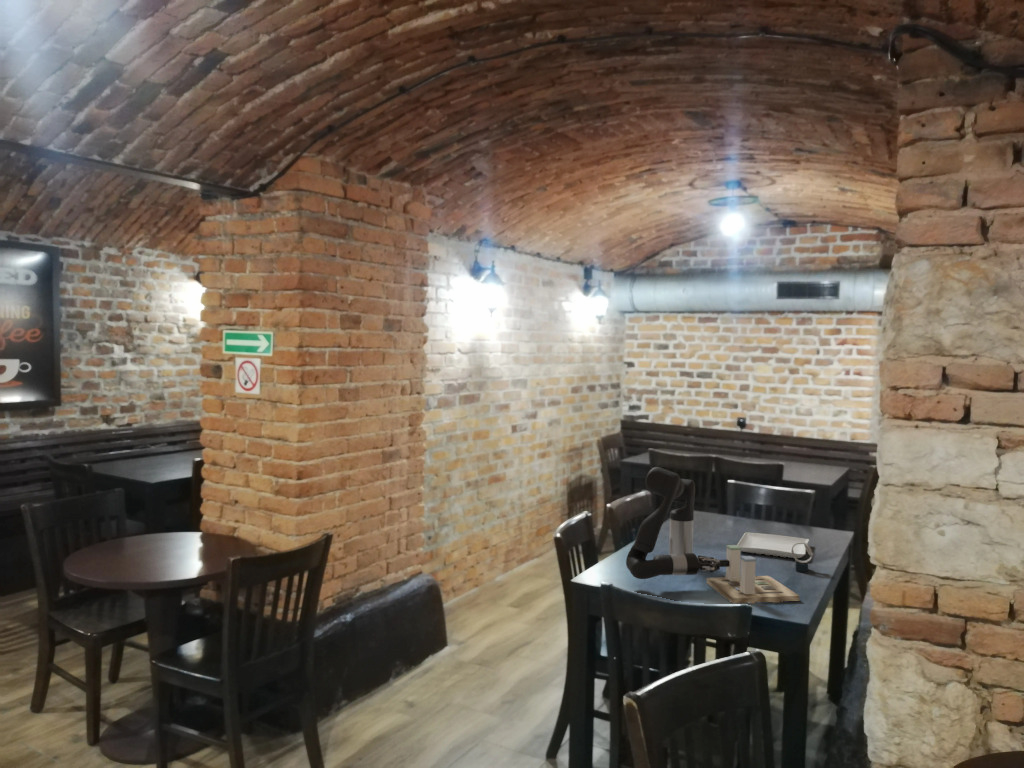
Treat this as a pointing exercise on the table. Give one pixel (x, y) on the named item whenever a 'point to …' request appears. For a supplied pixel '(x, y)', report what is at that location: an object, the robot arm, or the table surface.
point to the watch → (801, 564)
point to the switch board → (764, 590)
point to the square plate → (772, 545)
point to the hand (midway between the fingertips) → (728, 563)
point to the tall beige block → (733, 563)
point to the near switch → (747, 575)
